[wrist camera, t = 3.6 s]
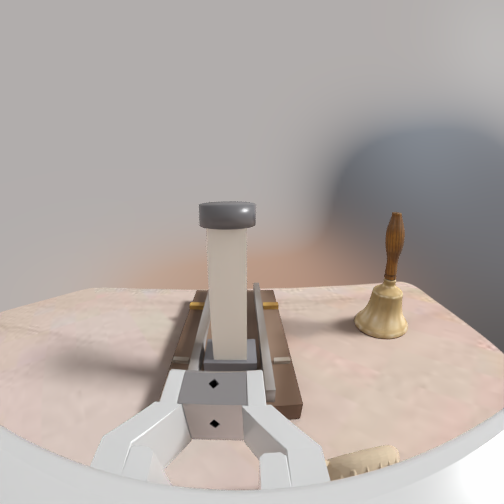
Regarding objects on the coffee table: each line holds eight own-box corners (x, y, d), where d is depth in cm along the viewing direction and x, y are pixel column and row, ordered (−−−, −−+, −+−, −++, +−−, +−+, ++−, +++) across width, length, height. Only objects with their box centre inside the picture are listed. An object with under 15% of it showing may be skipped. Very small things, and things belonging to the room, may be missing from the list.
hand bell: (370, 343, 31) (392, 217, 26) (345, 314, 39) (357, 207, 34) (417, 333, 32) (441, 219, 27) (388, 308, 40) (403, 209, 35)
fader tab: (204, 373, 23) (192, 207, 19) (208, 347, 27) (201, 201, 23) (257, 374, 23) (260, 207, 19) (254, 347, 27) (256, 201, 23)
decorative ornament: (397, 494, 11) (430, 459, 9) (283, 517, 11) (292, 493, 9) (383, 457, 15) (407, 417, 13) (279, 473, 15) (286, 437, 13)
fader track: (163, 416, 20) (154, 390, 19) (197, 301, 43) (196, 281, 42) (300, 418, 20) (305, 392, 19) (272, 301, 43) (273, 281, 42)
